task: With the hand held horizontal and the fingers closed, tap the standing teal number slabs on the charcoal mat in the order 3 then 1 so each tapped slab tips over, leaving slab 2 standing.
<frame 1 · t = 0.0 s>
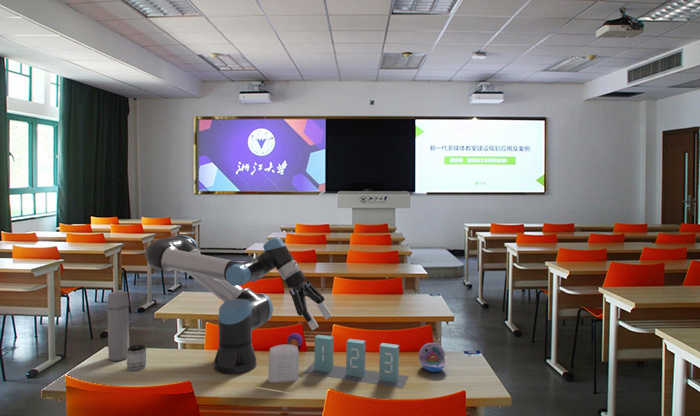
hand: (322, 323, 178), 15 cm above the table, tool tilted 35°, fingers open, 13 cm apart
tile 3: (388, 379, 164), resting on mat
tile 2: (355, 374, 168), resting on mat
cell model: (432, 371, 173), on the table
mat: (355, 375, 168), on the table
tile 1: (323, 369, 172), resting on mat
kendama: (291, 354, 188), on the table
camera lens: (136, 368, 172), on the table
water bottle: (120, 357, 182), on the table
photo printer: (283, 380, 164), on the table
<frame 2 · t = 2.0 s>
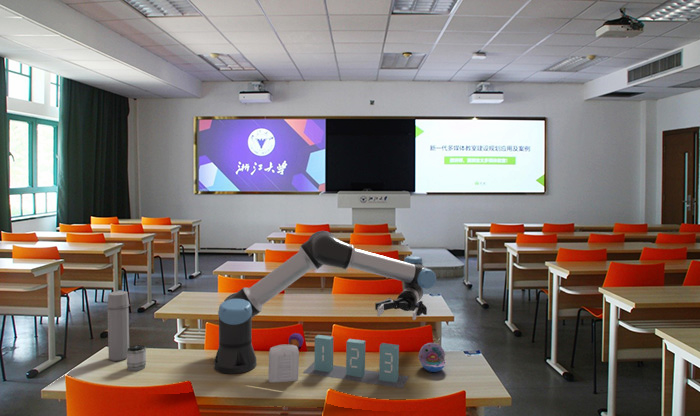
hand: (395, 314, 171), 21 cm above the table, tool horizontal, fingers open, 12 cm apart
nothing on the table moved.
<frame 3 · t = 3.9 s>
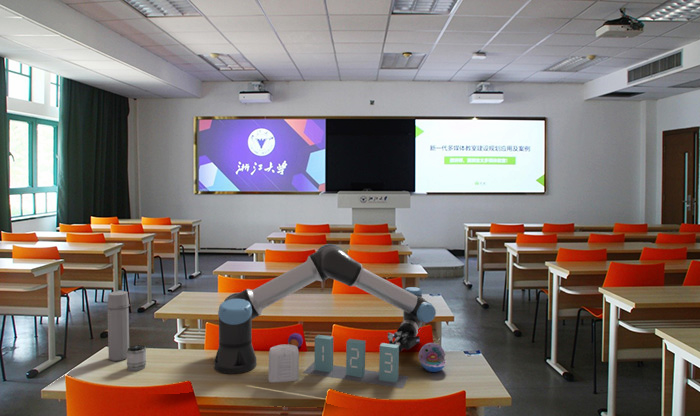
hand: (394, 352, 171), 7 cm above the table, tool horizontal, fingers closed
nothing on the table moved.
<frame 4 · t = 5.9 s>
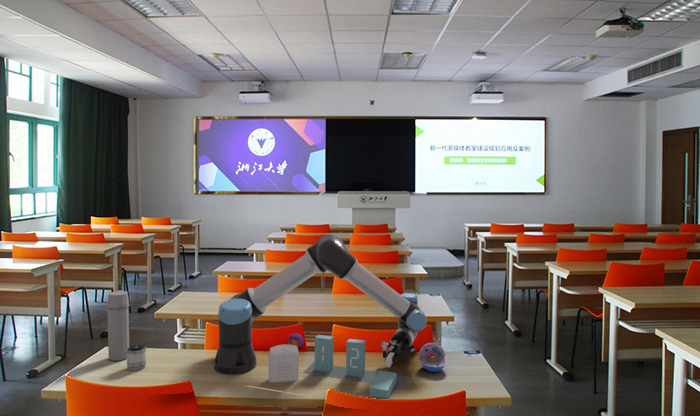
hand: (387, 363, 162), 7 cm above the table, tool horizontal, fingers closed
tile 3: (387, 376, 162), point 2 cm above the table, tilted 94°, touching mat
everything else where it was.
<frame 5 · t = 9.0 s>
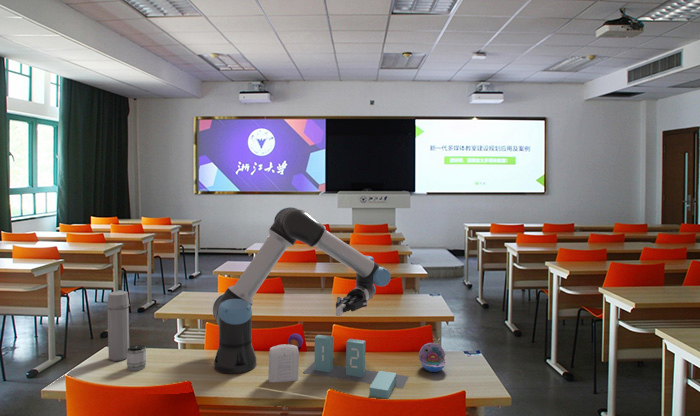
hand: (337, 312, 177), 20 cm above the table, tool horizontal, fingers closed
nothing on the table moved.
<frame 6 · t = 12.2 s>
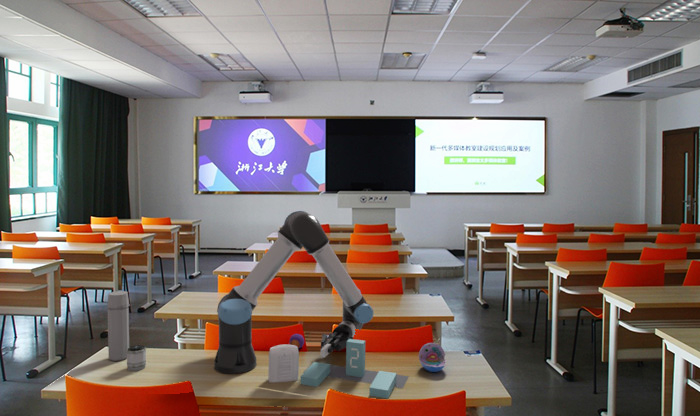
hand: (322, 353, 170), 7 cm above the table, tool horizontal, fingers closed
tile 1: (322, 367, 170), point 2 cm above the table, tilted 92°, touching mat
everything else where it was.
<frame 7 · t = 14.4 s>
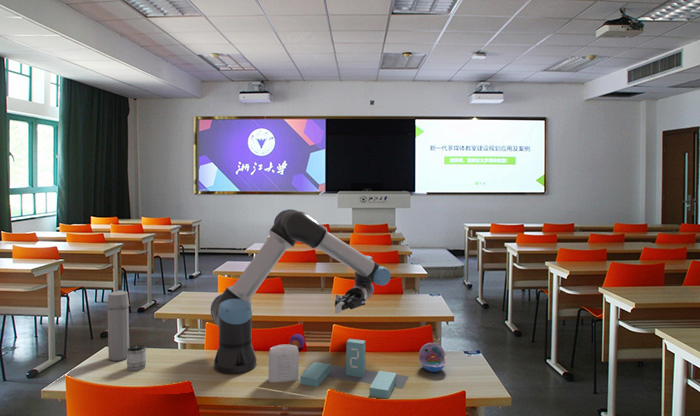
hand: (336, 309, 180), 20 cm above the table, tool horizontal, fingers closed
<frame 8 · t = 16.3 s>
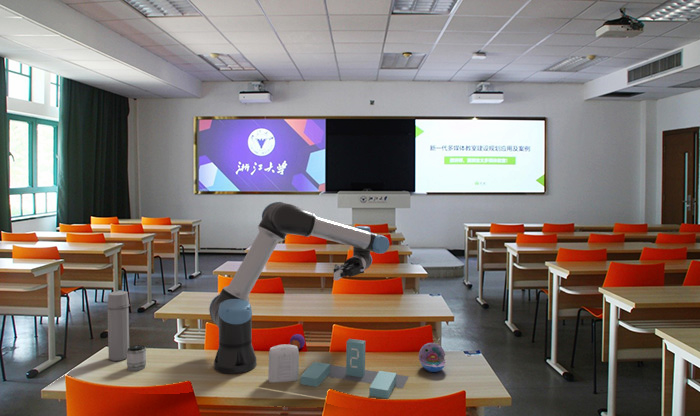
hand: (335, 276, 180), 32 cm above the table, tool horizontal, fingers closed
at the end: tile 3 tilted 94°; tile 1 tilted 92°; tile 2 tilted 0° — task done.
